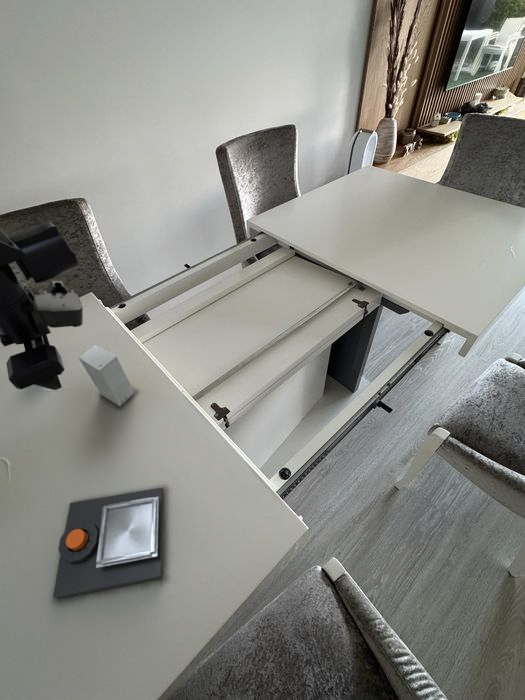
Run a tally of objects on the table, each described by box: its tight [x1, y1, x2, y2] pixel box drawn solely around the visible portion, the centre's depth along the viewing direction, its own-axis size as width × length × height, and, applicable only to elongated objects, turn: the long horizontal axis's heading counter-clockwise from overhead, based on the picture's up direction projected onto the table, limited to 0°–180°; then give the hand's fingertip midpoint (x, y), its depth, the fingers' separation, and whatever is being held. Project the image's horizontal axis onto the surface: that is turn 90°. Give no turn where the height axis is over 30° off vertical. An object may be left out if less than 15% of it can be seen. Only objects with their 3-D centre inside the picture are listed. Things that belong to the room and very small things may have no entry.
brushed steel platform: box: [96, 497, 159, 568], centre depth 53 cm, size 9×9×1 cm
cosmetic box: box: [78, 344, 135, 407], centre depth 69 cm, size 6×4×12 cm
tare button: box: [66, 529, 88, 550], centre depth 52 cm, size 3×3×2 cm
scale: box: [52, 487, 165, 599], centre depth 54 cm, size 15×13×3 cm
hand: (53, 368), depth 58 cm, fingers open, 9 cm apart
